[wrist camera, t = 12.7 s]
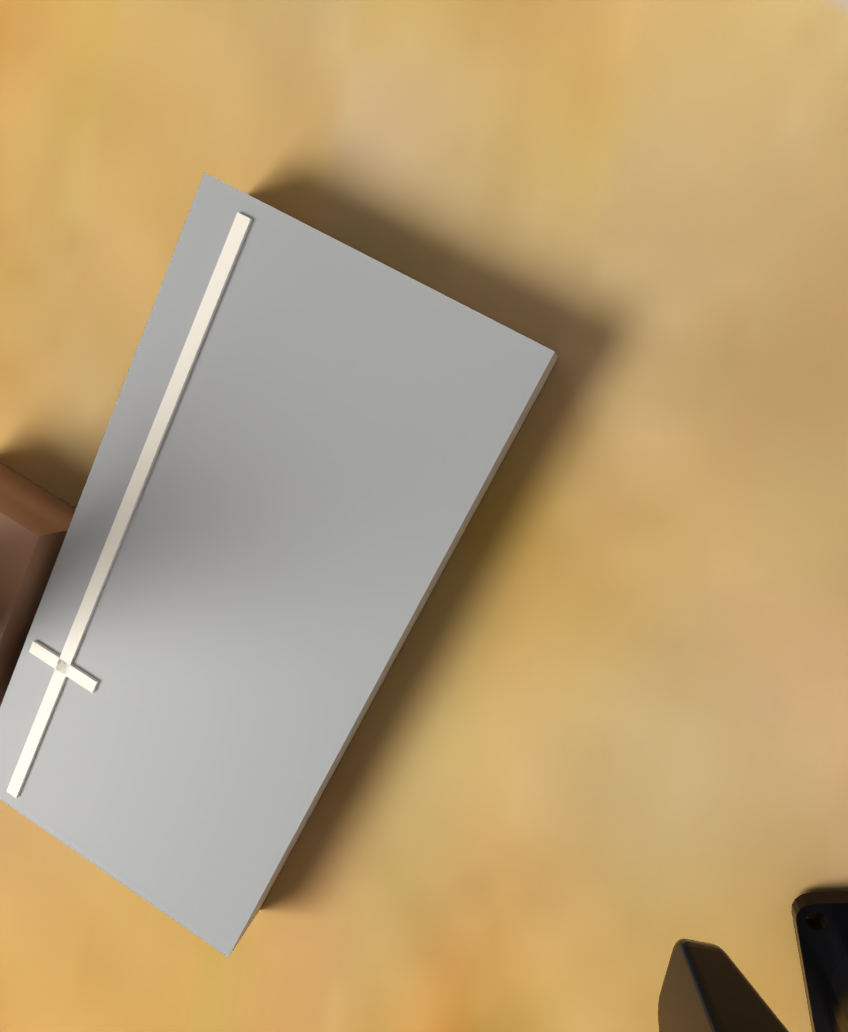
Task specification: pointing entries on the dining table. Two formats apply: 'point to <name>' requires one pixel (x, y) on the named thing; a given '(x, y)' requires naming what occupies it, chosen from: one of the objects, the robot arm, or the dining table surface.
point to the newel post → (25, 559)
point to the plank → (251, 553)
